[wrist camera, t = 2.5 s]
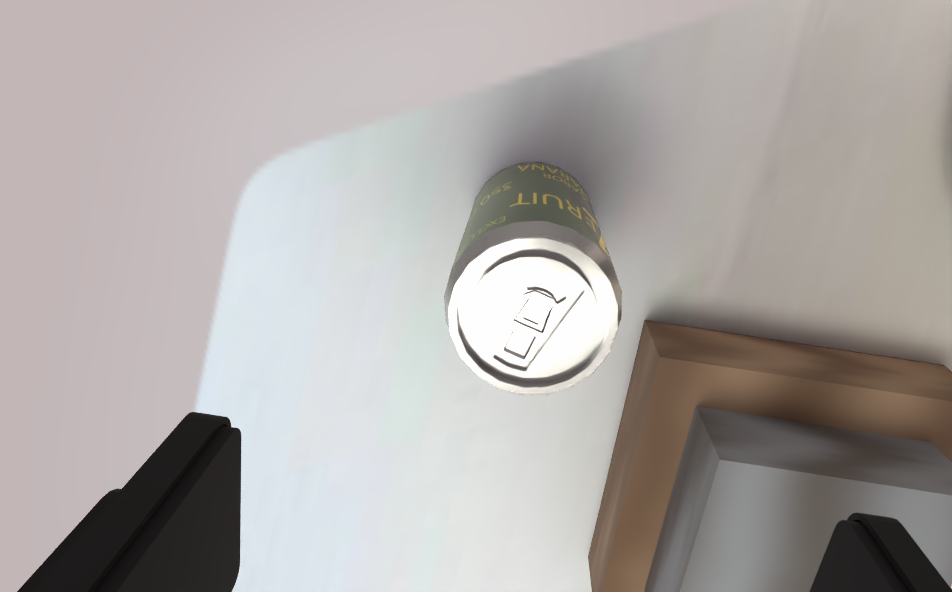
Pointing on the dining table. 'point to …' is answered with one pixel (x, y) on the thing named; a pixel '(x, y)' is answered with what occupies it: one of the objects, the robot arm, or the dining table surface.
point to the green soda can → (533, 283)
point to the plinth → (749, 389)
